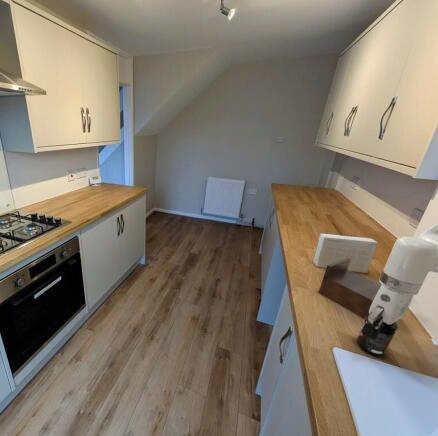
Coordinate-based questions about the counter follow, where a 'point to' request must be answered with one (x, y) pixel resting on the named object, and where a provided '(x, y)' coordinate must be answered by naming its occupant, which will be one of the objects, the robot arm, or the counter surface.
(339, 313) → the counter surface
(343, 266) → the shelf
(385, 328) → the supplement container
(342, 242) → the skincare box
